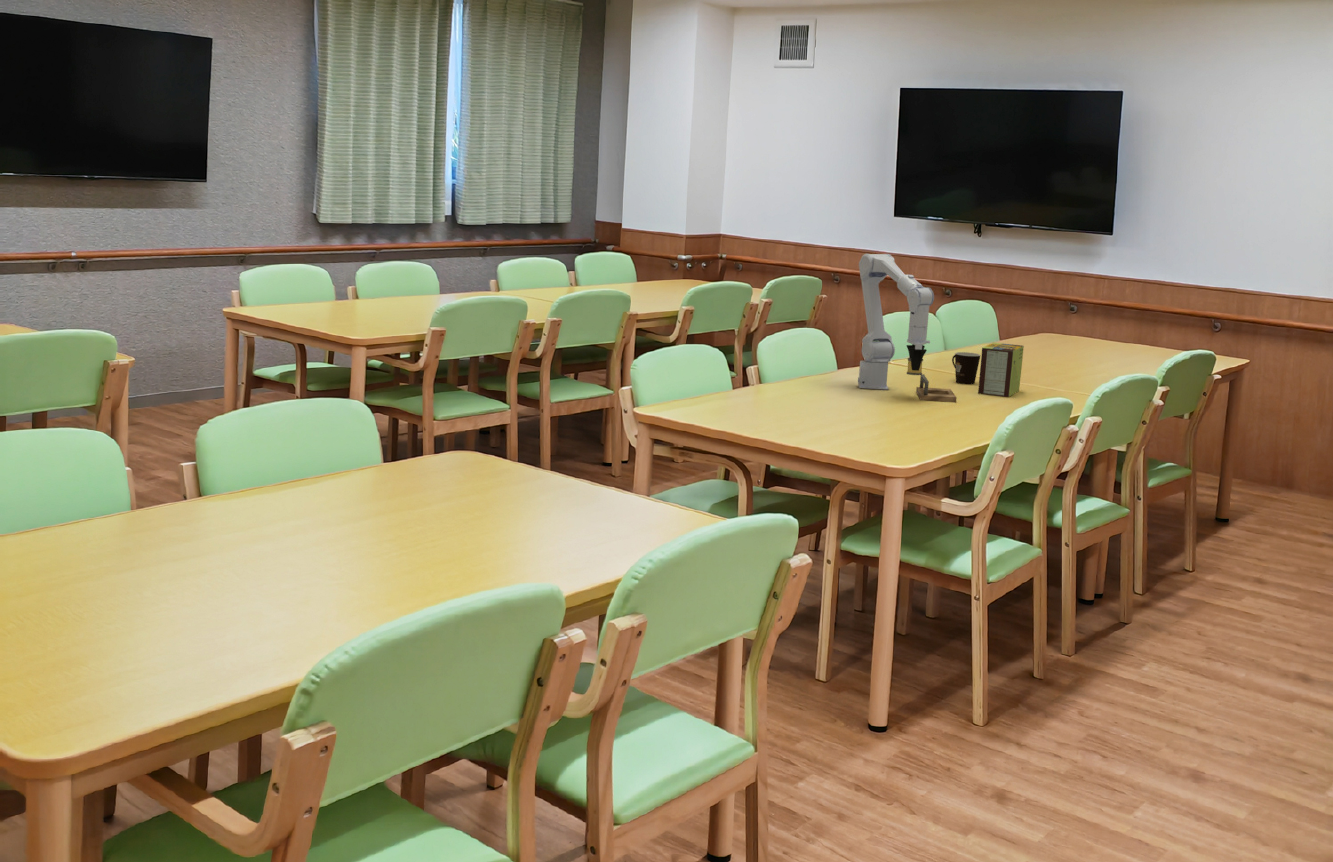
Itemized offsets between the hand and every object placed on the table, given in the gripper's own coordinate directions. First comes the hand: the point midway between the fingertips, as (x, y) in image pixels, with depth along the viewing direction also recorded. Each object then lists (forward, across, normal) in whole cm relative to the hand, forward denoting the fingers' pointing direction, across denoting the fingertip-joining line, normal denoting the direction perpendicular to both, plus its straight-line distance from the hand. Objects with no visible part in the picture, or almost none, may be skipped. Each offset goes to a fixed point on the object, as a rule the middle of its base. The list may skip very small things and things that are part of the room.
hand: (914, 369), depth 382 cm
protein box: (+10, +22, -30) cm, 38 cm away
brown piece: (+9, +5, -8) cm, 13 cm away
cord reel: (+2, 0, 0) cm, 2 cm away
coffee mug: (+10, +38, -21) cm, 45 cm away
